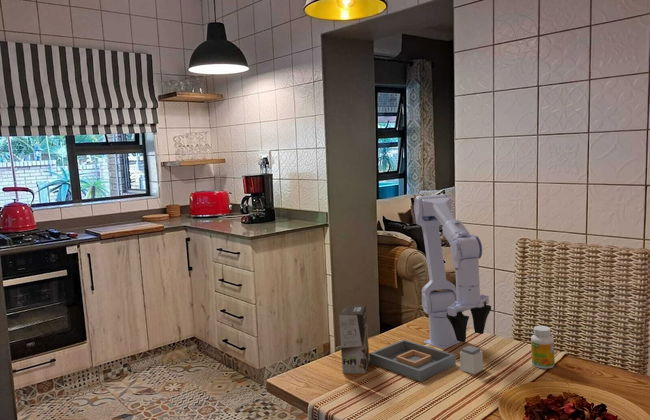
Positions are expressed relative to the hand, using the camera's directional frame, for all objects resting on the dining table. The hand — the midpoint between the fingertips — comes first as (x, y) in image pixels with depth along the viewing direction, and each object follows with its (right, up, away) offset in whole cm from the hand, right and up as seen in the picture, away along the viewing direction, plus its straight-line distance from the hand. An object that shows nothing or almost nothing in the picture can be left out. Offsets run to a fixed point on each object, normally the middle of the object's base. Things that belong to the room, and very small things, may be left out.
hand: (470, 336), depth 129 cm
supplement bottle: (+19, -8, +2) cm, 21 cm away
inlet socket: (-13, -9, +9) cm, 18 cm away
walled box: (-14, -9, +7) cm, 18 cm away
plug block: (+1, -9, +1) cm, 9 cm away
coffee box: (-28, -11, +8) cm, 31 cm away
